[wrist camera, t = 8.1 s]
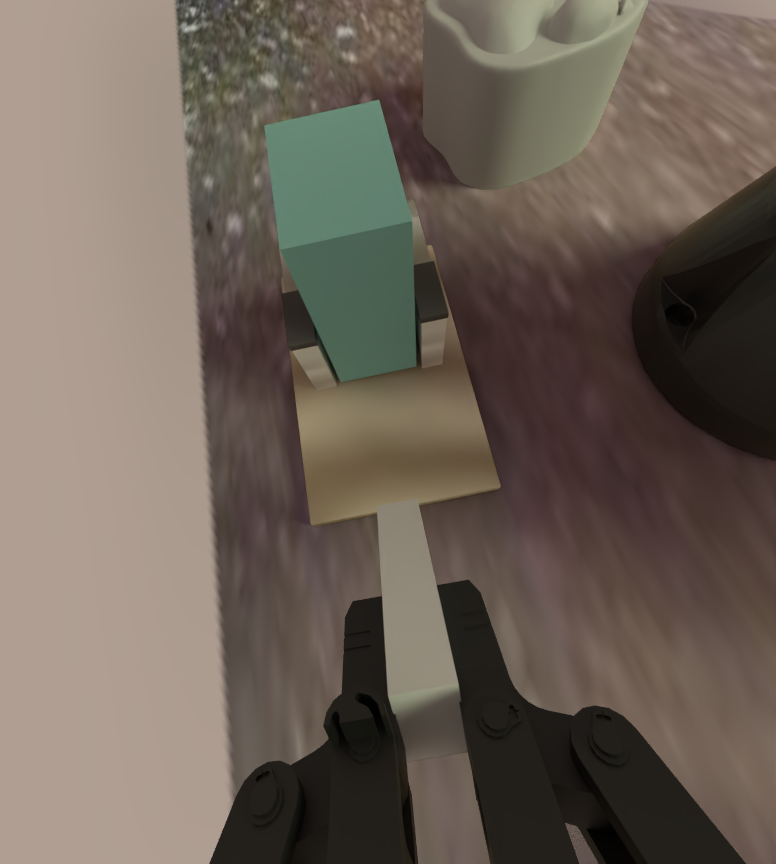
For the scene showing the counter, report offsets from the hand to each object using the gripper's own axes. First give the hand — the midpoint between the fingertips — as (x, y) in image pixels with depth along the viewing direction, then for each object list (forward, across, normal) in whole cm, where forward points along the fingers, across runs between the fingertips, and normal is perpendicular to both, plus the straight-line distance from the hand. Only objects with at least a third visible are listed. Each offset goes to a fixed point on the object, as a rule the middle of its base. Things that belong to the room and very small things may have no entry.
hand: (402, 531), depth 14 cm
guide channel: (+11, 0, +3) cm, 11 cm away
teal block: (+12, 0, +5) cm, 13 cm away
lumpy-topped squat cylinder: (+24, +14, +16) cm, 32 cm away
